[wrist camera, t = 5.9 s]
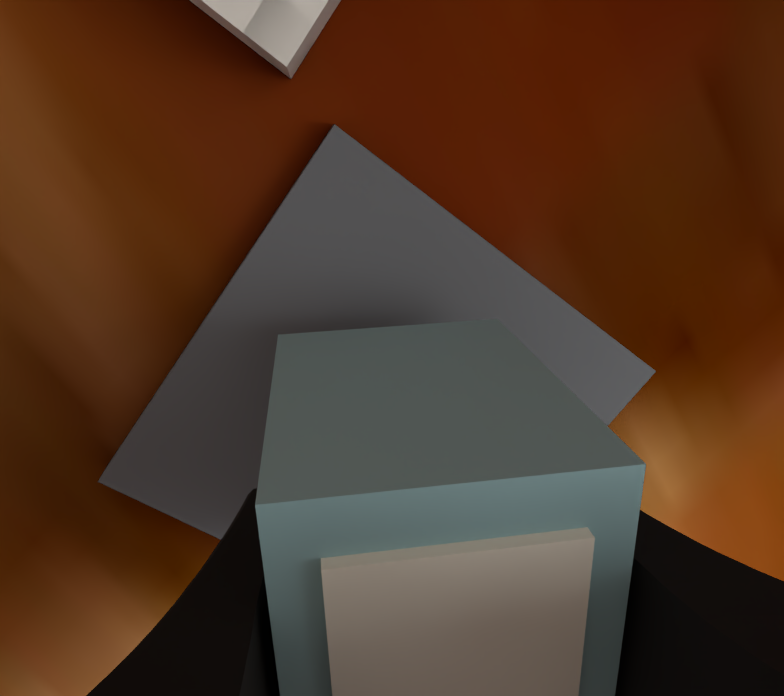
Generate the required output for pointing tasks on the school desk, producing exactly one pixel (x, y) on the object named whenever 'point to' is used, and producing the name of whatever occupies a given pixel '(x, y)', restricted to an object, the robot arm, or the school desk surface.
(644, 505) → the school desk surface
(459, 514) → the teal labelled box
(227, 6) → the parts bin
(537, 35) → the school desk surface
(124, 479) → the charcoal mat
